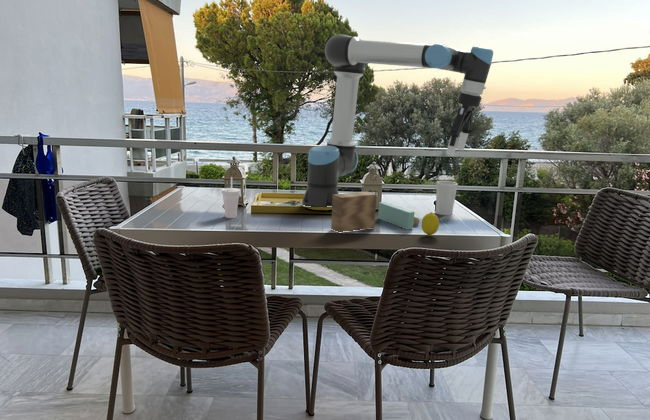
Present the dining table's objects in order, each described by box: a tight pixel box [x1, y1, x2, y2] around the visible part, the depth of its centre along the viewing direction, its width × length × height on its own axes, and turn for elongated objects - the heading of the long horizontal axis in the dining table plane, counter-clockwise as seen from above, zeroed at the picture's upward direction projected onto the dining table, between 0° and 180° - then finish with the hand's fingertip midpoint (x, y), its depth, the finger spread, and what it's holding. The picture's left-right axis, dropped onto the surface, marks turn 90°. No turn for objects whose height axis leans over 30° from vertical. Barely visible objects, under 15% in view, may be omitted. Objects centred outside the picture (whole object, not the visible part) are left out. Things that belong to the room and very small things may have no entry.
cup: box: [435, 180, 458, 216], centre depth 192 cm, size 8×8×12 cm
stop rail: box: [377, 201, 415, 230], centre depth 174 cm, size 2×16×6 cm, turn 32°
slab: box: [330, 191, 377, 232], centre depth 164 cm, size 14×5×12 cm, turn 122°
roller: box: [413, 216, 420, 226], centre depth 177 cm, size 10×3×3 cm, turn 33°
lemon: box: [420, 212, 440, 237], centre depth 160 cm, size 6×6×8 cm
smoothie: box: [221, 176, 241, 219], centre depth 172 cm, size 6×6×14 cm
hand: (454, 152), depth 180 cm, fingers open, 13 cm apart
